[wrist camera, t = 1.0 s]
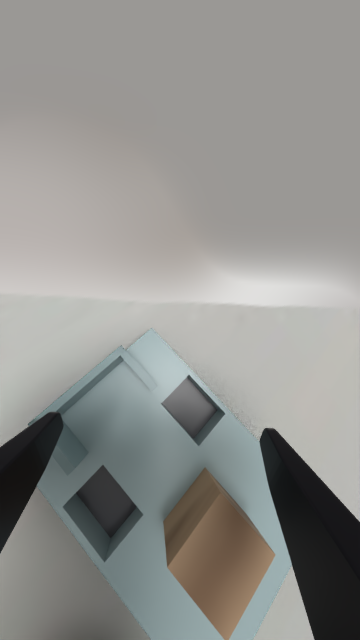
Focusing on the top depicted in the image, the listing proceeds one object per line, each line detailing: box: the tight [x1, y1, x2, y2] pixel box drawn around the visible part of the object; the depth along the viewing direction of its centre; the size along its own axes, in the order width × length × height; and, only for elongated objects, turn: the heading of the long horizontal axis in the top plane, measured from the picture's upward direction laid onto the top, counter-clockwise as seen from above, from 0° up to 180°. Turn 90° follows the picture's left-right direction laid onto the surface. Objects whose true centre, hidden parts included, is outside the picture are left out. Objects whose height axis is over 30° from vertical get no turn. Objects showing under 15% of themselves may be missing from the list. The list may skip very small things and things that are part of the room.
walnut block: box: [163, 467, 275, 640], centre depth 14 cm, size 5×5×4 cm
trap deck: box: [28, 328, 292, 640], centre depth 16 cm, size 22×15×6 cm, turn 44°
